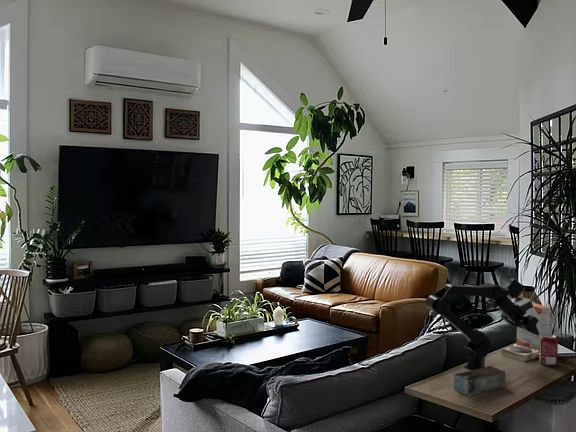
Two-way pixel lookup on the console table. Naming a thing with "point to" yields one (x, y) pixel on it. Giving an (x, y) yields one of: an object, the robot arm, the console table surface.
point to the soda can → (548, 349)
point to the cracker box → (543, 326)
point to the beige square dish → (520, 352)
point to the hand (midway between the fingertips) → (531, 331)
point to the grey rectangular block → (479, 380)
